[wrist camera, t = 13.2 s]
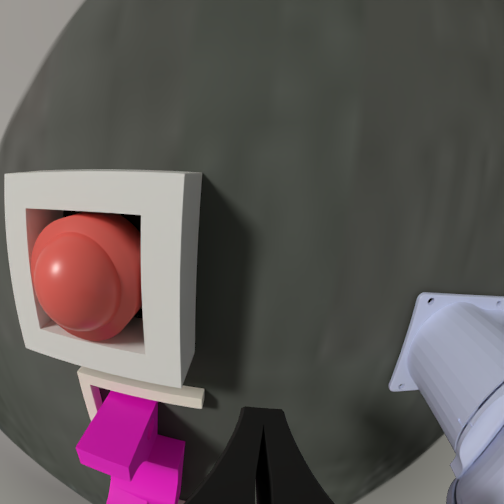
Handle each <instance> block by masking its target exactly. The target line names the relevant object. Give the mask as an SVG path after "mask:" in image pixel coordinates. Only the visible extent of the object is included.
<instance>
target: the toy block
mask: <svg viewBox="0 0 504 504" xmlns="http://www.w3.org/2000/svg"><path fill="white" fill-rule="evenodd" d="M157 428H158V401H154V400H149V399H145V398H140V397H136V396H132V395H127V394H123V393H119V392H115V391H110V393H109V394H108V396H107V398H106V399H105V401H104V402H103V404H102V405H101V407H100V409H99V410H98V412H97V413H96V415H95V417H94V418H93V420H92V421H91V423H90V425H89V426H88V428H87V430H86V431H85V433H84V434H83V436H82V438H81V439H80V441H79V443H78V444H77V446H76V450H77V453H78V456H79V459H80V462H81V463H82V464H84V465H86V466H89V467H91V468H93V469H96V470H98V471H101V472H104V473H106V474H109V475H111V483H110V490H109V495H108V500H107V504H178V501H179V497H180V493H181V481H182V470H183V460H184V449H185V441H181V440H177V439H173V438H169V437H166V436H162V435H158V434H157Z"/></svg>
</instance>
